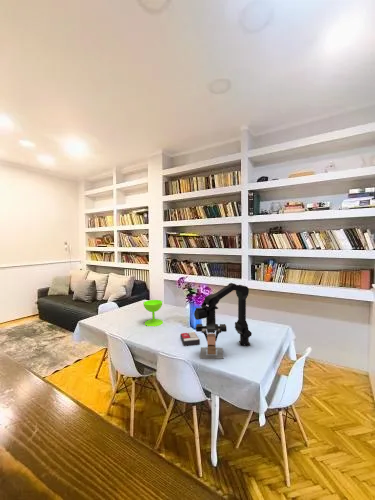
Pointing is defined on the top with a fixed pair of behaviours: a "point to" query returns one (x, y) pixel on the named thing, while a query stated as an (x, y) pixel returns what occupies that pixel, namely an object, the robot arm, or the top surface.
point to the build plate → (205, 354)
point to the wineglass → (153, 307)
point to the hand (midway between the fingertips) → (211, 341)
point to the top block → (211, 339)
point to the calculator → (190, 339)
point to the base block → (211, 349)
